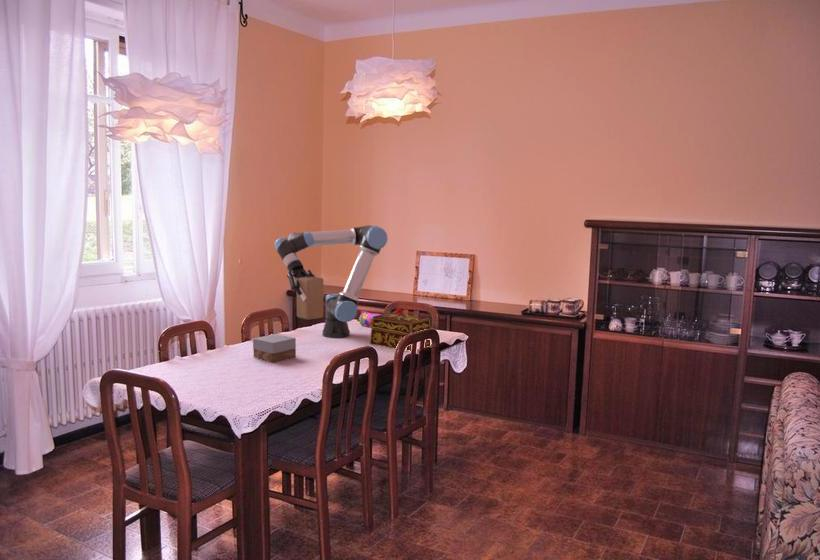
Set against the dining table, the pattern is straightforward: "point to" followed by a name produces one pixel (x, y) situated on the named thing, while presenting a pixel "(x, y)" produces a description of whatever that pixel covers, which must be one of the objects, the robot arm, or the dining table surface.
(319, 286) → the wooden block
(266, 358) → the tower base block
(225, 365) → the dining table surface
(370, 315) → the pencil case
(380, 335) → the decorative box
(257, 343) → the tower top block
